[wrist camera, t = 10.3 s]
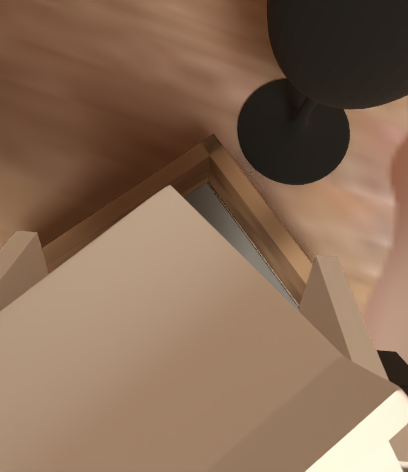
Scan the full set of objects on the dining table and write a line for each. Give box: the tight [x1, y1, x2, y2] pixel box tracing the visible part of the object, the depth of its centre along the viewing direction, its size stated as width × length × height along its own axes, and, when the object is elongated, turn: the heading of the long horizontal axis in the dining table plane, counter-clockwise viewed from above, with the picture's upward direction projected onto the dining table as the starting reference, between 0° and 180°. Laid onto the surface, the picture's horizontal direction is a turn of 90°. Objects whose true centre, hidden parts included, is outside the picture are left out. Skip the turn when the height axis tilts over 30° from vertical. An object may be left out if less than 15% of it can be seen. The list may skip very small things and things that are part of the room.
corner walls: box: [42, 134, 312, 305], centre depth 26 cm, size 16×19×6 cm
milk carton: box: [0, 185, 408, 472], centre depth 12 cm, size 7×7×19 cm
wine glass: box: [238, 0, 408, 185], centre depth 22 cm, size 10×10×20 cm
